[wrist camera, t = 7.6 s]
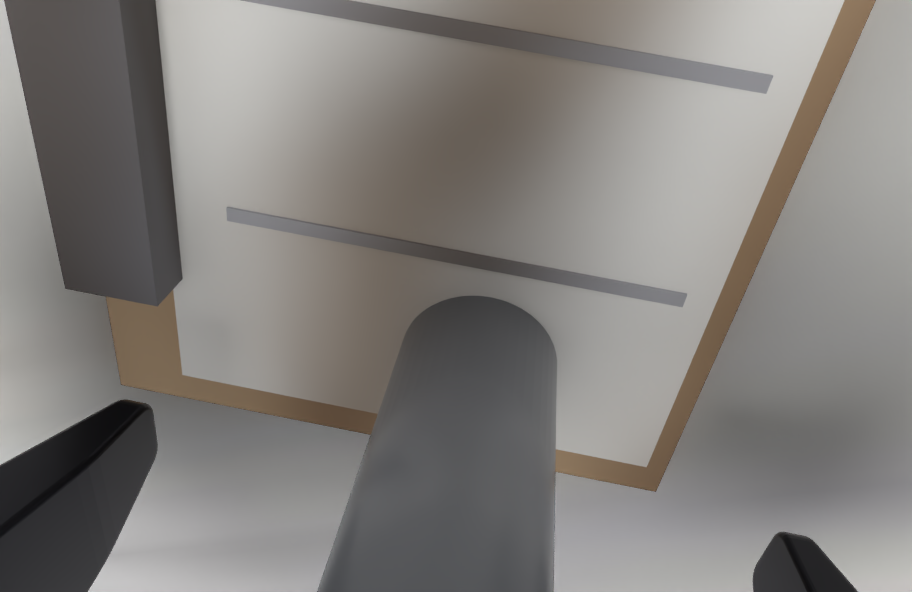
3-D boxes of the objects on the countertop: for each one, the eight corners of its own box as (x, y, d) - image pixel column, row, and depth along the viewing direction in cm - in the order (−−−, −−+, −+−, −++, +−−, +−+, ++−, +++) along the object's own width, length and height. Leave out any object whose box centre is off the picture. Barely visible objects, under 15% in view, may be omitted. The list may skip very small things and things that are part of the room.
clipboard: (986, -287, 7) (1067, -314, 6) (653, 476, 14) (661, 533, 13) (-1, -442, 8) (-102, -496, 7) (131, 372, 14) (92, 418, 13)
